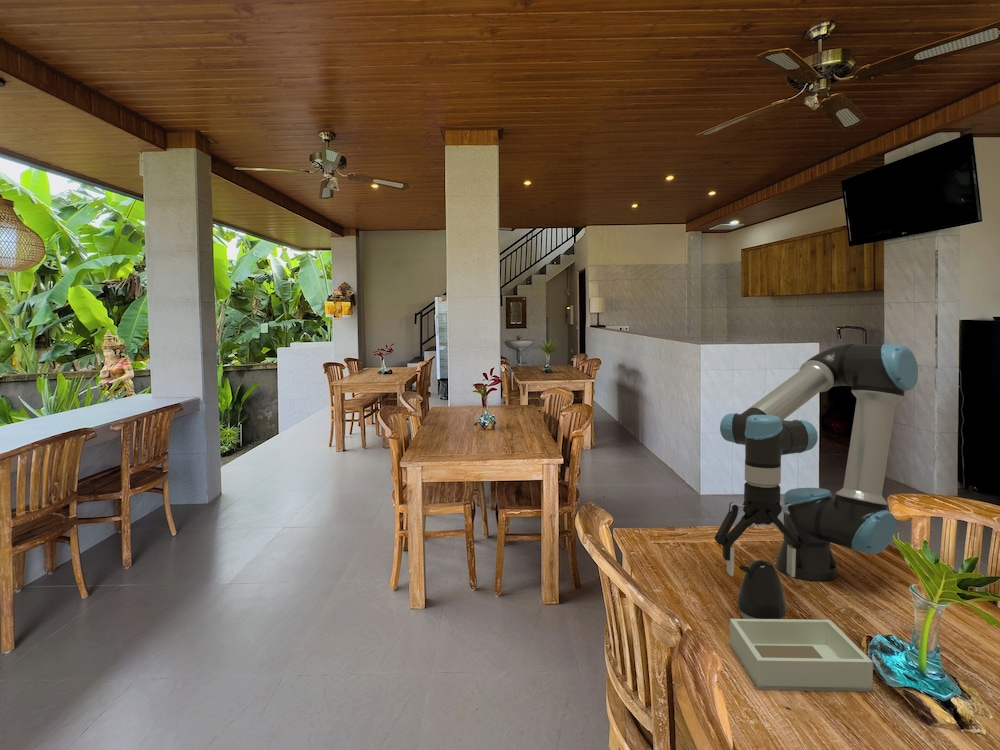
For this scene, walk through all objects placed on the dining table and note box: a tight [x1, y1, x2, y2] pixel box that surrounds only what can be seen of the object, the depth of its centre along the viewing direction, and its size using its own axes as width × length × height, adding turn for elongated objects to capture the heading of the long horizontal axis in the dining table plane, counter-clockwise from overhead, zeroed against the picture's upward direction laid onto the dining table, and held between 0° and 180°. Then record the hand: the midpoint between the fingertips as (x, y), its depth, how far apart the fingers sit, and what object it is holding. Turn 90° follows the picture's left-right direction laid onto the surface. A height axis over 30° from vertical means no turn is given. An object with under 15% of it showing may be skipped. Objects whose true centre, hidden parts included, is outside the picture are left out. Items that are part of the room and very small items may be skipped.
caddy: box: [729, 618, 874, 693], centre depth 117 cm, size 21×16×6 cm
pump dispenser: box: [737, 559, 787, 619], centre depth 133 cm, size 10×10×15 cm
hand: (760, 574), depth 133 cm, fingers open, 13 cm apart
